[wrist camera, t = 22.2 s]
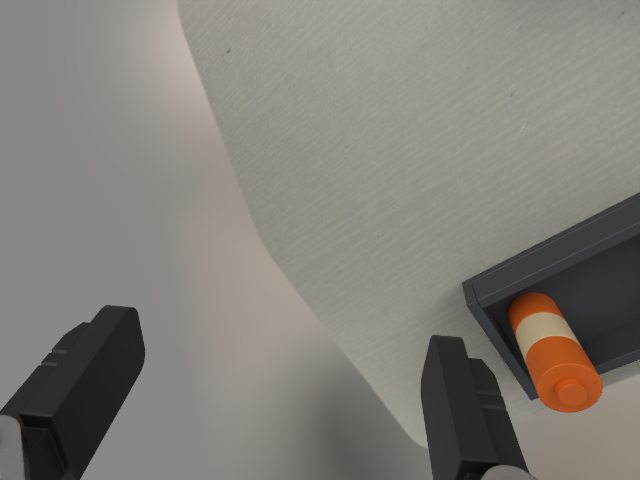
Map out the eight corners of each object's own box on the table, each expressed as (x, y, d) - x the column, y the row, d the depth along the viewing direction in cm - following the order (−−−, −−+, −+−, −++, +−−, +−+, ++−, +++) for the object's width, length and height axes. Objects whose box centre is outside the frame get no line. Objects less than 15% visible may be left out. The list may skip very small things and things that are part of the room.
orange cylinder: (499, 321, 36) (527, 405, 27) (522, 284, 34) (560, 361, 25) (541, 338, 36) (584, 428, 27) (566, 303, 34) (620, 385, 25)
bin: (519, 369, 38) (531, 400, 34) (461, 282, 36) (466, 305, 32) (725, 285, 32) (763, 312, 29) (668, 177, 30) (702, 191, 27)
